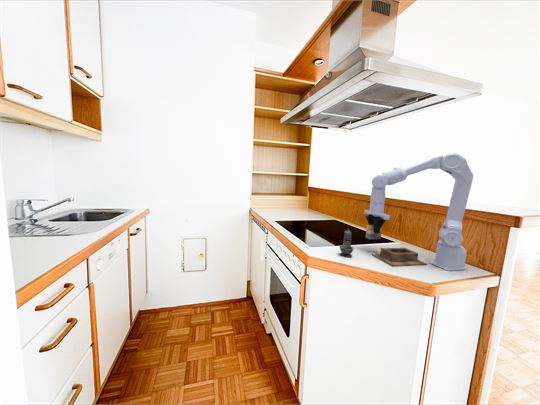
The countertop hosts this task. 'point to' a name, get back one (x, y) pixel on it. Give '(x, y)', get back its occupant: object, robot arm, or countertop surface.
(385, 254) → the brown flanged tray
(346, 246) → the grey stone statuette
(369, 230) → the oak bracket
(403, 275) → the countertop surface
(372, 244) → the countertop surface
